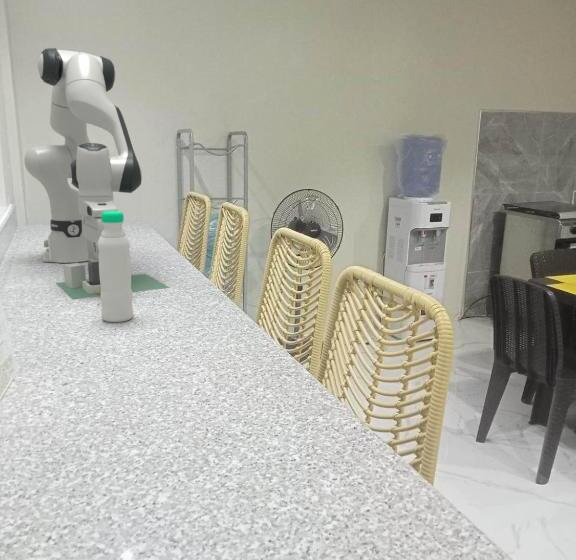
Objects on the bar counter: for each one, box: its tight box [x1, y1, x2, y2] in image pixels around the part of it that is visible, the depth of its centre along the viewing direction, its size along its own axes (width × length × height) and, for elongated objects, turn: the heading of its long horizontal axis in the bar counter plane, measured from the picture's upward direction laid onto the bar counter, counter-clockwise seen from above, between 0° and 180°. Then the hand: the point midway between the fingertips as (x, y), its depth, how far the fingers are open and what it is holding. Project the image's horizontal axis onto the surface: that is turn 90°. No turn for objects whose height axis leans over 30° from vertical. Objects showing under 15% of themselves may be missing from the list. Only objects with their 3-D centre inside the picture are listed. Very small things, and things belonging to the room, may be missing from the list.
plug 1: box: [63, 262, 87, 288], centre depth 157 cm, size 5×4×6 cm
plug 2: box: [87, 259, 100, 285], centre depth 154 cm, size 5×5×8 cm
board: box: [55, 273, 171, 300], centre depth 159 cm, size 20×26×3 cm
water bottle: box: [98, 210, 134, 323], centre depth 130 cm, size 7×7×25 cm
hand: (99, 258), depth 153 cm, fingers closed
